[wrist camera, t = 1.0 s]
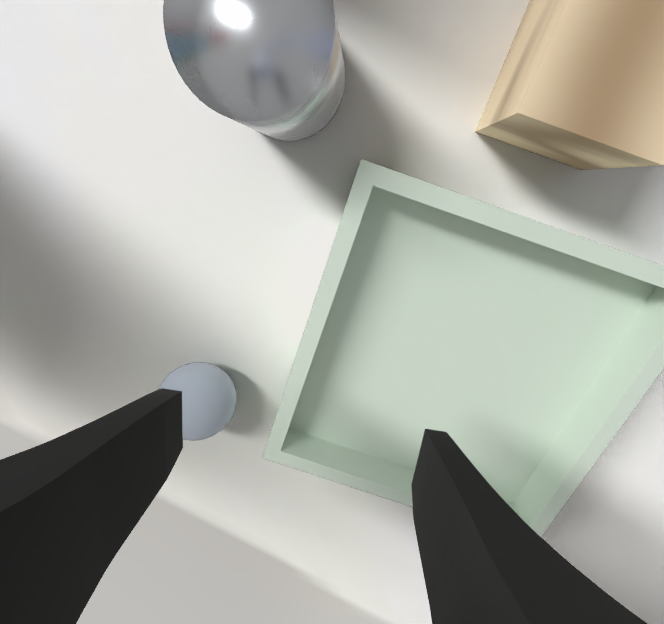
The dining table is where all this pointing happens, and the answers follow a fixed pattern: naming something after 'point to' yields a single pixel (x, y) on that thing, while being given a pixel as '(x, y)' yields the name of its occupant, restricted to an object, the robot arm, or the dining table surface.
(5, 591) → the robot arm
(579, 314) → the sage tray
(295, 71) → the grey can
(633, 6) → the maple block
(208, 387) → the rubber ball
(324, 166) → the dining table surface
